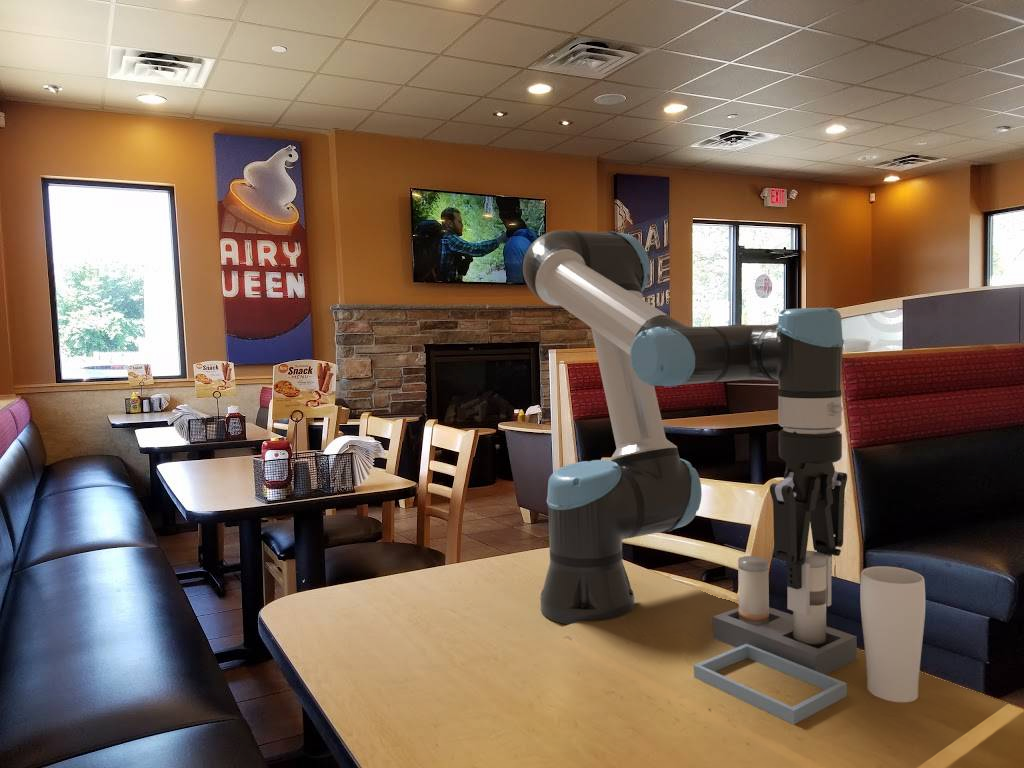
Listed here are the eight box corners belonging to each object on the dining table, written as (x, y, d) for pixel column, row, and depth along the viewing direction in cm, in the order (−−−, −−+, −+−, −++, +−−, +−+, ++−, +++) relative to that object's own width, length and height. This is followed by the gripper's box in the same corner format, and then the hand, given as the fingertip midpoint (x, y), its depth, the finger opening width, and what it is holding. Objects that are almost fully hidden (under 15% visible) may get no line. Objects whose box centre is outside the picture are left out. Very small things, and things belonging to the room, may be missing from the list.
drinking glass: (923, 719, 82) (923, 588, 81) (857, 704, 85) (856, 579, 84) (926, 693, 88) (926, 570, 87) (864, 680, 91) (863, 562, 90)
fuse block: (713, 644, 103) (712, 616, 103) (753, 628, 108) (753, 601, 108) (815, 686, 90) (815, 655, 90) (856, 666, 95) (856, 636, 95)
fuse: (732, 636, 103) (731, 559, 103) (751, 628, 106) (750, 554, 105) (757, 645, 100) (756, 567, 99) (775, 637, 102) (774, 560, 101)
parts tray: (694, 684, 92) (693, 665, 92) (746, 661, 97) (746, 643, 97) (793, 732, 80) (793, 710, 80) (846, 703, 86) (846, 683, 85)
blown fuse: (786, 636, 96) (785, 554, 95) (804, 628, 98) (804, 548, 97) (814, 647, 93) (814, 562, 92) (832, 638, 95) (833, 555, 94)
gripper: (795, 439, 85) (795, 633, 87) (874, 425, 95) (873, 600, 97) (742, 433, 92) (743, 614, 93) (822, 420, 101) (821, 584, 103)
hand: (809, 606), depth 95 cm, fingers closed on blown fuse, 4 cm apart
